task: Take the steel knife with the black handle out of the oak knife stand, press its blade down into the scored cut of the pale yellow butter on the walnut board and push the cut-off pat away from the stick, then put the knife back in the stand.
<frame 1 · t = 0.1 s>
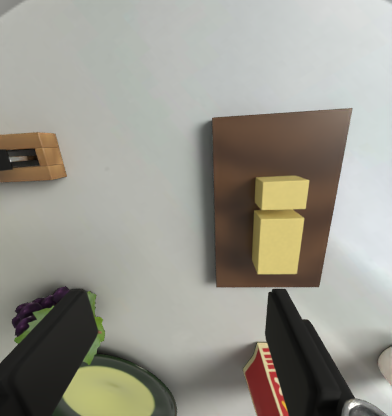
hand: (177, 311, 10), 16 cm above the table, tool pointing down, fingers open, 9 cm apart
butter: (271, 235, 24), point 1 cm above the table, touching butter board
fruit: (77, 300, 31), on the table
plate: (110, 389, 38), on the table
knife stand: (16, 158, 24), on the table
butter pat: (274, 189, 22), point 1 cm above the table, touching butter board
milk carton: (275, 359, 33), on the table
butter board: (268, 209, 24), on the table
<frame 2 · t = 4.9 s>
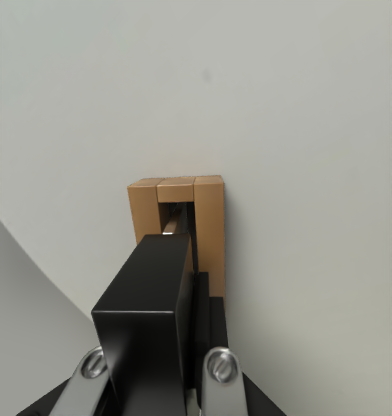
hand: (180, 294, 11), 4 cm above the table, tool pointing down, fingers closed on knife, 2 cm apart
knife: (178, 306, 10), in the knife stand, touching gripper
knife stand: (187, 257, 14), on the table
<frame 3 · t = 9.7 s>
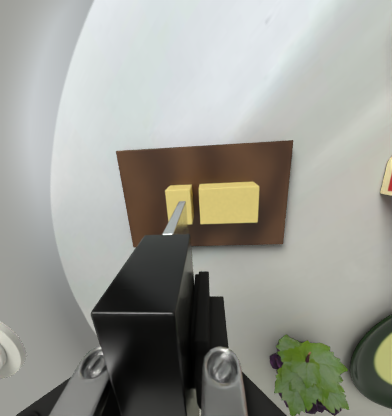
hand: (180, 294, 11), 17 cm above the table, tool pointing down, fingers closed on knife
butter: (226, 199, 25), point 1 cm above the table, touching butter board
fruit: (290, 347, 35), on the table
knife: (178, 306, 10), point 18 cm above the table, touching gripper
butter pat: (182, 201, 26), point 1 cm above the table, touching butter board
butter board: (204, 197, 27), on the table
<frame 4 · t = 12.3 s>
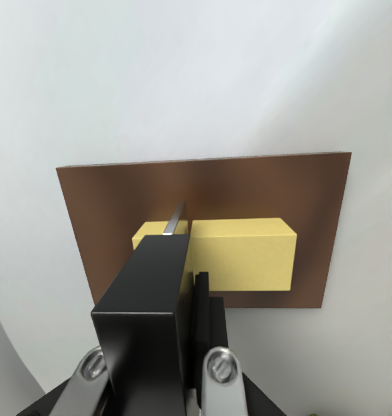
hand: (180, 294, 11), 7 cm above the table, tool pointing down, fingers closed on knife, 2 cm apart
butter: (235, 243, 16), point 1 cm above the table, touching butter board
knife: (178, 306, 10), point 8 cm above the table, touching gripper
butter pat: (165, 245, 16), point 1 cm above the table, touching butter board
butter board: (200, 236, 18), on the table
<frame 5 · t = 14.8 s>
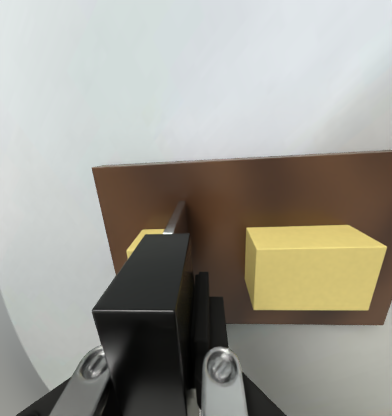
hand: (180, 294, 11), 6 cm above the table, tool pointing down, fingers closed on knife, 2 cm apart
butter: (293, 253, 14), point 1 cm above the table, touching butter board
knife: (178, 305, 10), point 6 cm above the table, touching butter pat, gripper
butter board: (247, 244, 16), on the table
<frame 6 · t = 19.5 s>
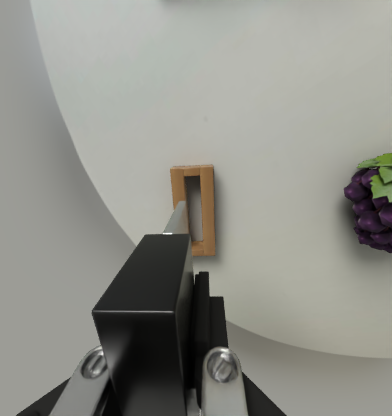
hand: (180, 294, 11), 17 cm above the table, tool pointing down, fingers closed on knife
fruit: (368, 188, 25), on the table
knife: (178, 306, 10), point 18 cm above the table, touching gripper
knife stand: (195, 209, 27), on the table
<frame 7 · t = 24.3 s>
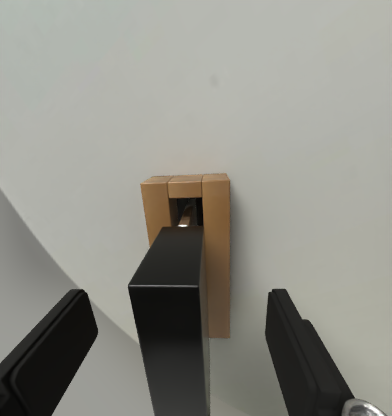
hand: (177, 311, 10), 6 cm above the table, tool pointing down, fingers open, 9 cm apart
knife: (190, 294, 11), in the knife stand
knife stand: (193, 251, 15), on the table
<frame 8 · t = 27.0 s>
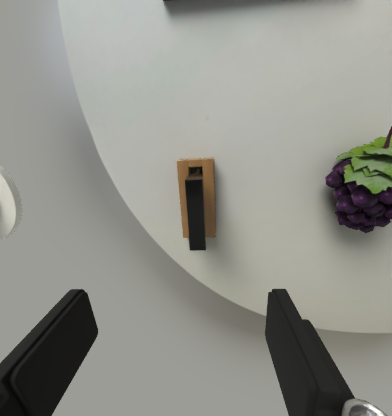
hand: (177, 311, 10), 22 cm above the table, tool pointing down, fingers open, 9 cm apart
fruit: (348, 178, 29), on the table
knife: (197, 205, 26), in the knife stand
knife stand: (198, 196, 31), on the table
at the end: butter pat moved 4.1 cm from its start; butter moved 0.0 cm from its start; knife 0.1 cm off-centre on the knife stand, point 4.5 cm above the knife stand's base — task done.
